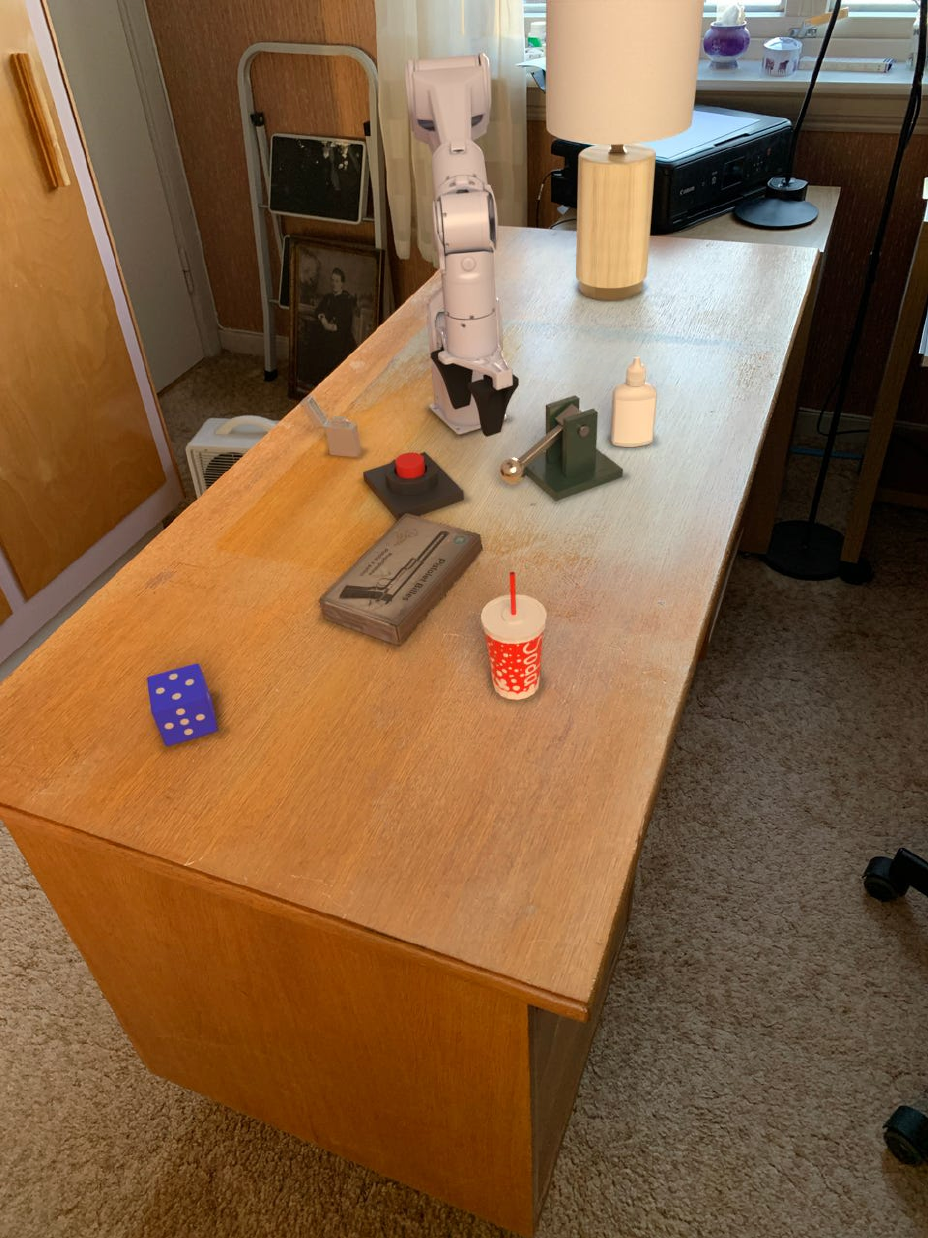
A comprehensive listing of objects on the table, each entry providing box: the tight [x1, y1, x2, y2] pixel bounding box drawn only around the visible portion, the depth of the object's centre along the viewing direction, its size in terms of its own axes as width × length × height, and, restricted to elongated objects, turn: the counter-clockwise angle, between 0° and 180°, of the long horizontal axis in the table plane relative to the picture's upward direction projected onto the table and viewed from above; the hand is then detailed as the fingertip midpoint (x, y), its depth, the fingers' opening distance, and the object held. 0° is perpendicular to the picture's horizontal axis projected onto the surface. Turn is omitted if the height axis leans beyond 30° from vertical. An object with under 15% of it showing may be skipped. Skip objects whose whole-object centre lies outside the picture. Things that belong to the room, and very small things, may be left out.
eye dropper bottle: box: [609, 356, 658, 448], centre depth 119 cm, size 4×6×12 cm
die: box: [146, 662, 219, 747], centre depth 88 cm, size 5×5×5 cm
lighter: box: [299, 394, 362, 458], centre depth 123 cm, size 7×2×8 cm, turn 74°
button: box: [394, 451, 425, 478], centre depth 115 cm, size 4×4×2 cm
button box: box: [362, 451, 465, 521], centre depth 116 cm, size 11×9×3 cm
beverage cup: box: [480, 571, 548, 701], centre depth 86 cm, size 6×6×14 cm
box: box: [317, 513, 484, 646], centre depth 101 cm, size 11×17×3 cm, turn 149°
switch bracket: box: [525, 394, 624, 502], centre depth 115 cm, size 10×9×9 cm
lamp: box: [545, 0, 705, 301], centre depth 146 cm, size 23×23×44 cm
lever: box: [499, 404, 582, 485], centre depth 113 cm, size 12×3×3 cm, turn 117°
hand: (476, 419), depth 109 cm, fingers open, 7 cm apart
